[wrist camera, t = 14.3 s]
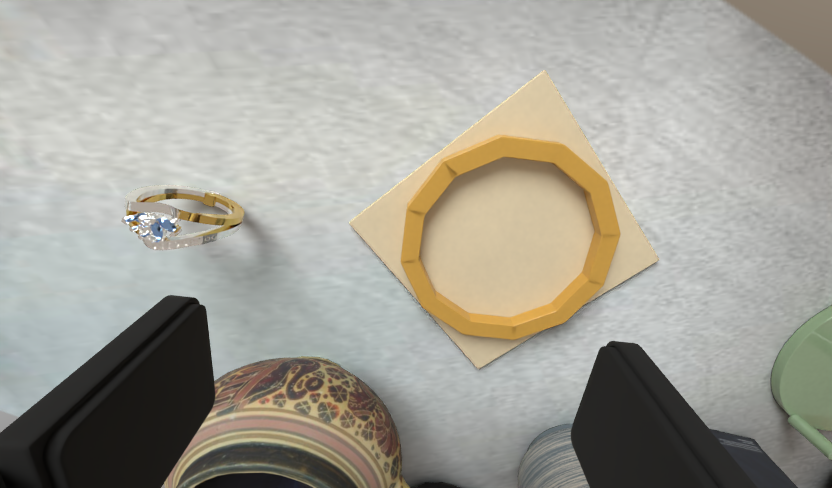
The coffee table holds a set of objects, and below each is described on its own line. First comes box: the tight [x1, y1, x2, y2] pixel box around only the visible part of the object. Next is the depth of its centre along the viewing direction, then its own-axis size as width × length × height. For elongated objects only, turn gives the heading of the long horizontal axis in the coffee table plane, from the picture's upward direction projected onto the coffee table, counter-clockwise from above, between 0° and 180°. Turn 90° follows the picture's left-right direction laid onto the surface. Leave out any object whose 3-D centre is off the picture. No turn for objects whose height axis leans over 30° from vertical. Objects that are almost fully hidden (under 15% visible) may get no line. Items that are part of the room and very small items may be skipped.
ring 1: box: [122, 185, 244, 250], centre depth 27 cm, size 7×3×8 cm, turn 69°
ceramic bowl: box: [164, 356, 410, 488], centre depth 31 cm, size 24×18×15 cm
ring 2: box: [400, 134, 621, 340], centre depth 31 cm, size 17×17×1 cm
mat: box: [349, 70, 659, 369], centre depth 31 cm, size 18×18×1 cm
